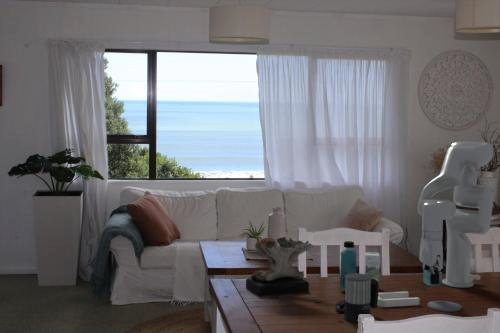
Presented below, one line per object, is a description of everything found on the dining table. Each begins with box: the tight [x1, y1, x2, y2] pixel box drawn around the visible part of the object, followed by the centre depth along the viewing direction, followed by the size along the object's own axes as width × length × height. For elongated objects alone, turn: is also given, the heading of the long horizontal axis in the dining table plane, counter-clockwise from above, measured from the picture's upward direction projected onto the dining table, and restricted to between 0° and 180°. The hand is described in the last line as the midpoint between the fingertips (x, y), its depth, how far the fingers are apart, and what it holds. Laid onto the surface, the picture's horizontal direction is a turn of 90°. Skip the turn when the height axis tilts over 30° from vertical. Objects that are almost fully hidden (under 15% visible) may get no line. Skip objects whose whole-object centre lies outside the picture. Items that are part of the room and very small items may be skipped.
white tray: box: [377, 291, 421, 308], centre depth 244 cm, size 16×10×2 cm, turn 104°
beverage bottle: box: [338, 240, 358, 290], centre depth 258 cm, size 6×7×20 cm
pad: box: [427, 300, 462, 313], centre depth 239 cm, size 12×12×1 cm
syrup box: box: [363, 251, 381, 285], centre depth 263 cm, size 6×6×14 cm
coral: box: [245, 236, 314, 297], centre depth 257 cm, size 25×20×22 cm
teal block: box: [422, 268, 443, 287], centre depth 248 cm, size 5×5×5 cm
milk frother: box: [334, 272, 380, 323], centre depth 227 cm, size 14×16×15 cm
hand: (431, 281), depth 248 cm, fingers closed on teal block, 5 cm apart
